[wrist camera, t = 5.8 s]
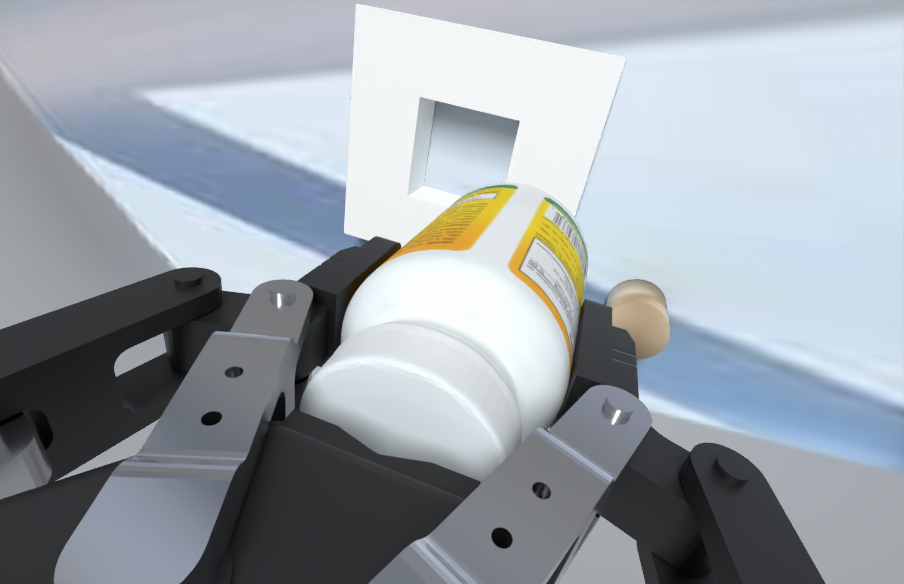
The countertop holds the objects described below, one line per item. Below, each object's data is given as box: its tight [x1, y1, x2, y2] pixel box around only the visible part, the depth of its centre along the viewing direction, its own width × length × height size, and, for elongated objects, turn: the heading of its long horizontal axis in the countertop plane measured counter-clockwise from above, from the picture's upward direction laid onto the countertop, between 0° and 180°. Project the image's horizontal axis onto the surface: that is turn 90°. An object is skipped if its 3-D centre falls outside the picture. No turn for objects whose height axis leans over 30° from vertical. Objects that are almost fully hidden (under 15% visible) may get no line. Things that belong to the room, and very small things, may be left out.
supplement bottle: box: [300, 182, 588, 484], centre depth 12 cm, size 5×5×10 cm
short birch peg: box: [606, 279, 670, 359], centre depth 31 cm, size 4×4×4 cm
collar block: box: [344, 4, 627, 248], centre depth 31 cm, size 16×15×3 cm
